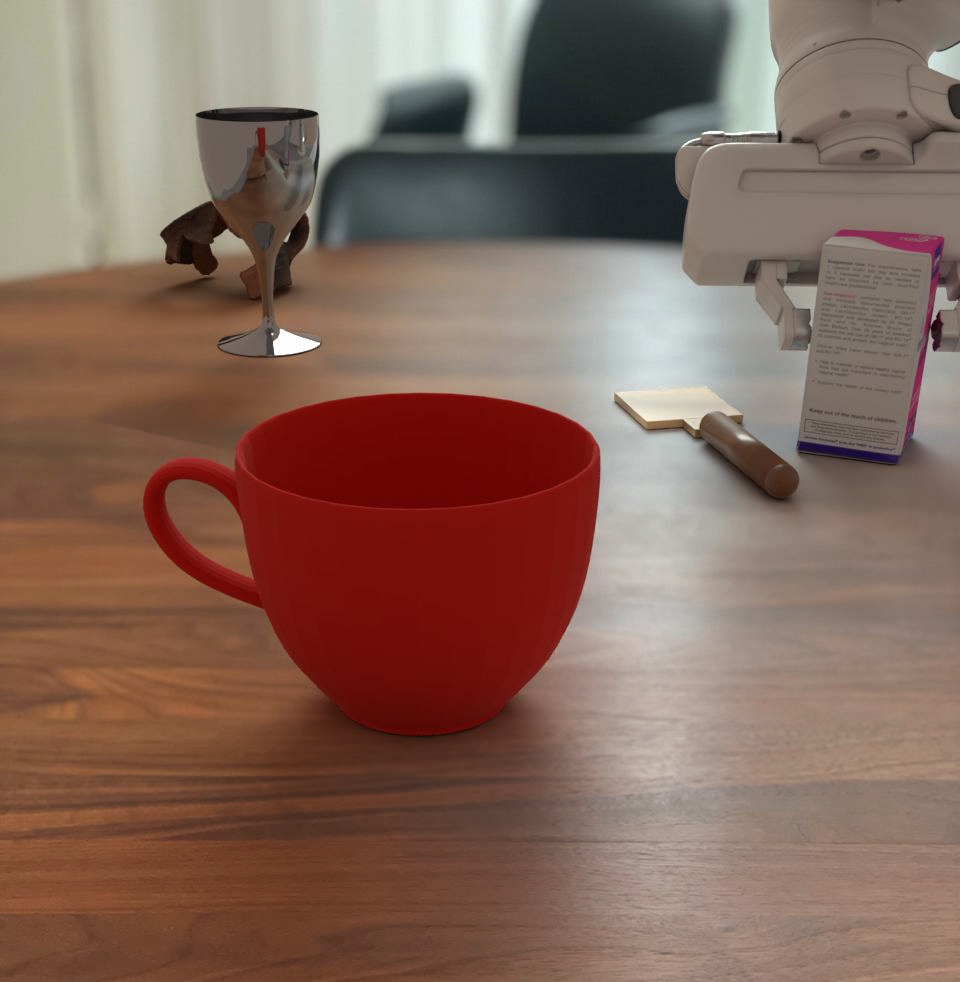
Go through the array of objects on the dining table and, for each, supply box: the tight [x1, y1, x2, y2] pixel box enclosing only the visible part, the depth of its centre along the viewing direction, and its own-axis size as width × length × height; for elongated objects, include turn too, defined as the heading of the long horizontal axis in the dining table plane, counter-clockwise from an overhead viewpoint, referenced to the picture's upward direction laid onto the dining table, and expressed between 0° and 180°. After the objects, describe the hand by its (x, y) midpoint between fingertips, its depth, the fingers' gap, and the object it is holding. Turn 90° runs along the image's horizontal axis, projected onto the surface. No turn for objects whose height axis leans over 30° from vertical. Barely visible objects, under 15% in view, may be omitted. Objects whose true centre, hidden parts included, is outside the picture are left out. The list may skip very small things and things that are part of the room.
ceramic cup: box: [142, 392, 602, 737], centre depth 55 cm, size 13×17×10 cm
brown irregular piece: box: [159, 200, 311, 300], centre depth 118 cm, size 12×10×8 cm
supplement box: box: [795, 229, 945, 465], centre depth 82 cm, size 6×6×12 cm
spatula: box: [613, 385, 800, 499], centre depth 84 cm, size 19×6×2 cm, turn 14°
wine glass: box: [194, 106, 322, 357], centre depth 100 cm, size 8×8×15 cm
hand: (873, 346), depth 81 cm, fingers closed on supplement box, 7 cm apart
